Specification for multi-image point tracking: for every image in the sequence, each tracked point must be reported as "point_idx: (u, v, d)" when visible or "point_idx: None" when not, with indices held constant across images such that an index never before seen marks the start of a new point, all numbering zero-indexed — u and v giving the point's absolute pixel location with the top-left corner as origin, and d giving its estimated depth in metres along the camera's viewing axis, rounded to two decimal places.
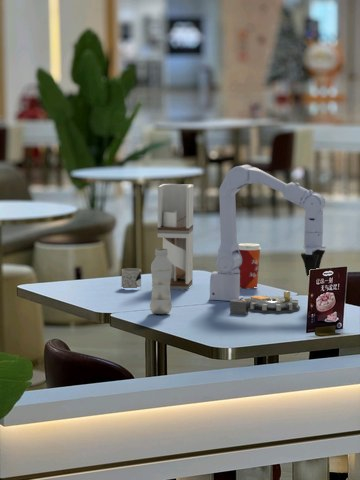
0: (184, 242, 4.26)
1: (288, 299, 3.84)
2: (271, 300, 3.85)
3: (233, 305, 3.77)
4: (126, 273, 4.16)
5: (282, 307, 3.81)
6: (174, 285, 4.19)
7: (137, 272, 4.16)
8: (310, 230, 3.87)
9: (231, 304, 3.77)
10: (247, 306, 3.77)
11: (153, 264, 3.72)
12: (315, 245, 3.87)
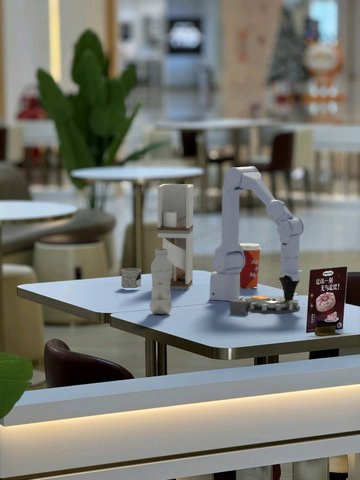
0: (184, 242, 4.26)
1: None
2: (271, 300, 3.85)
3: (233, 305, 3.77)
4: (126, 273, 4.16)
5: (282, 307, 3.81)
6: (174, 285, 4.19)
7: (137, 272, 4.16)
8: (283, 255, 3.79)
9: (231, 304, 3.77)
10: (247, 306, 3.77)
11: (153, 264, 3.72)
12: (295, 270, 3.79)
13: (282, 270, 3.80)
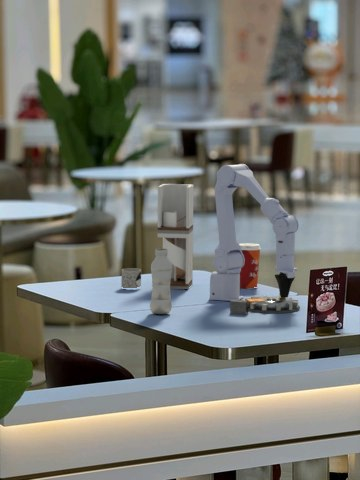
0: (184, 242, 4.26)
1: None
2: (275, 300, 3.86)
3: (233, 305, 3.77)
4: (126, 273, 4.16)
5: None
6: (174, 285, 4.19)
7: (137, 272, 4.16)
8: (279, 253, 3.84)
9: (231, 304, 3.77)
10: (247, 306, 3.77)
11: (153, 264, 3.72)
12: (290, 268, 3.84)
13: (277, 267, 3.85)
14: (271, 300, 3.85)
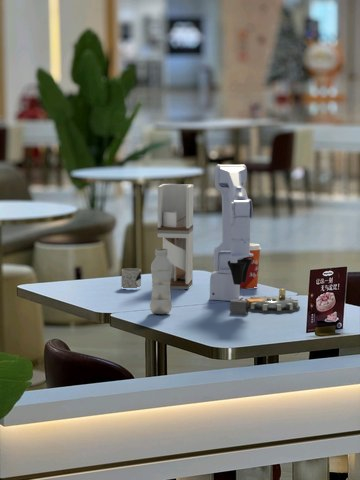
0: (184, 242, 4.26)
1: None
2: (275, 300, 3.86)
3: (233, 305, 3.77)
4: (126, 273, 4.16)
5: None
6: (174, 285, 4.19)
7: (137, 272, 4.16)
8: (231, 236, 3.75)
9: (231, 304, 3.77)
10: (247, 306, 3.77)
11: (153, 264, 3.72)
12: (241, 253, 3.73)
13: (231, 252, 3.75)
14: (271, 300, 3.85)
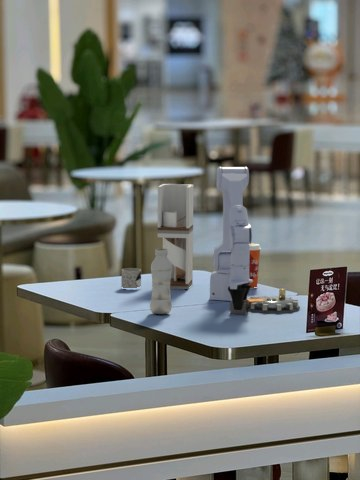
0: (184, 242, 4.26)
1: None
2: (275, 300, 3.86)
3: None
4: (126, 273, 4.16)
5: None
6: (174, 285, 4.19)
7: (137, 272, 4.16)
8: (230, 262, 3.76)
9: (231, 304, 3.77)
10: (247, 306, 3.77)
11: (153, 264, 3.72)
12: (241, 279, 3.74)
13: (230, 278, 3.76)
14: (271, 300, 3.85)
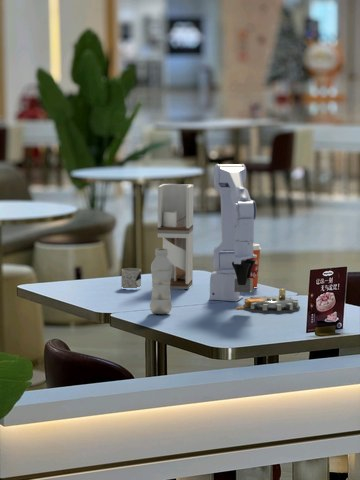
0: (184, 242, 4.26)
1: None
2: (275, 300, 3.86)
3: (237, 283, 3.78)
4: (126, 273, 4.16)
5: None
6: (174, 285, 4.19)
7: (137, 272, 4.16)
8: (235, 237, 3.77)
9: (235, 282, 3.78)
10: (251, 284, 3.78)
11: (153, 264, 3.72)
12: (245, 254, 3.75)
13: (234, 253, 3.77)
14: (271, 300, 3.85)
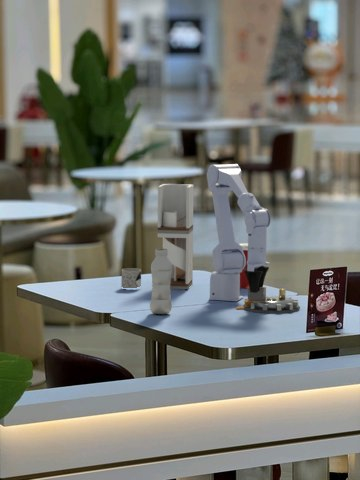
0: (184, 242, 4.26)
1: None
2: (275, 300, 3.86)
3: None
4: (126, 273, 4.16)
5: None
6: (174, 285, 4.19)
7: (137, 272, 4.16)
8: (248, 246, 3.83)
9: (249, 291, 3.85)
10: (264, 293, 3.85)
11: (153, 264, 3.72)
12: (258, 261, 3.81)
13: None
14: (271, 300, 3.85)
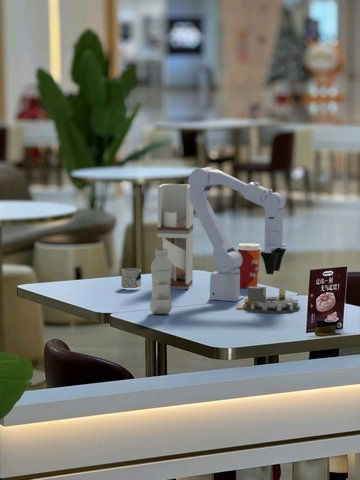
0: (184, 242, 4.26)
1: None
2: (275, 300, 3.86)
3: (251, 291, 3.84)
4: (126, 273, 4.16)
5: None
6: (174, 285, 4.19)
7: (137, 272, 4.16)
8: (269, 229, 3.91)
9: (249, 291, 3.85)
10: (264, 293, 3.85)
11: (153, 264, 3.72)
12: (275, 244, 3.91)
13: None
14: (271, 300, 3.85)
